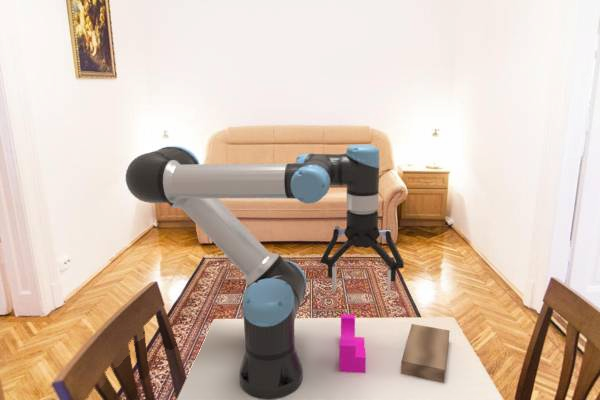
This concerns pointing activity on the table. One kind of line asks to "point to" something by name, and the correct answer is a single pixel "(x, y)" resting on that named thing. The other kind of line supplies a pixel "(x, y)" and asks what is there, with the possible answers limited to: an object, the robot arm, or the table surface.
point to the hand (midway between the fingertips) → (361, 290)
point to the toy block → (351, 347)
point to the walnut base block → (426, 353)
